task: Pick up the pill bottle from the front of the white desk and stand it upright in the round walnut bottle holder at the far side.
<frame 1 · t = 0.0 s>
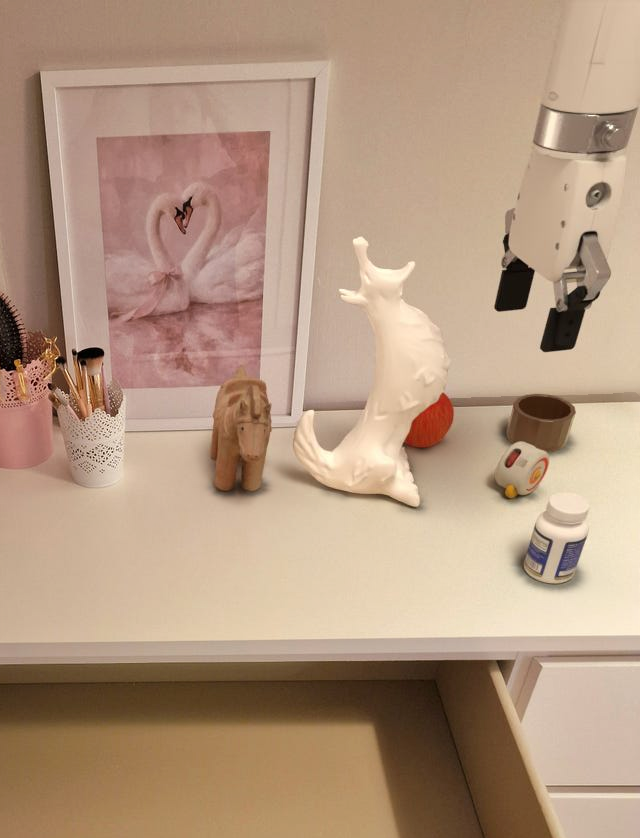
hand: (532, 328, 85), 25 cm above the table, tool pointing down, fingers open, 9 cm apart
holder: (535, 437, 117), on the table
figurine: (241, 482, 112), on the table
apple: (417, 442, 118), on the table
sculpture: (356, 486, 110), on the table
roller toy: (516, 489, 108), on the table
pill bottle: (547, 571, 96), on the table
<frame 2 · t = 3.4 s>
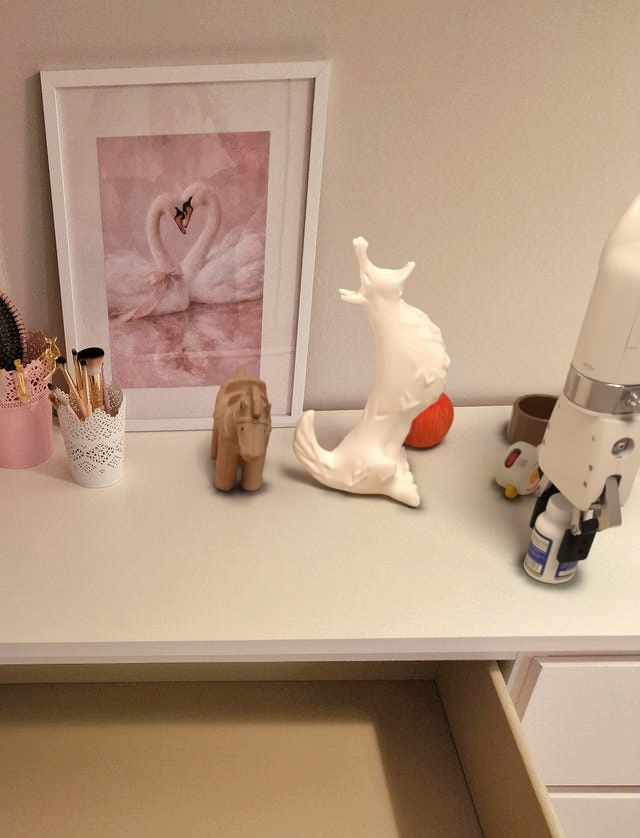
hand: (557, 541, 93), 4 cm above the table, tool pointing down, fingers closed on pill bottle, 5 cm apart
pill bottle: (547, 571, 96), on the table, touching gripper
everything else where it was.
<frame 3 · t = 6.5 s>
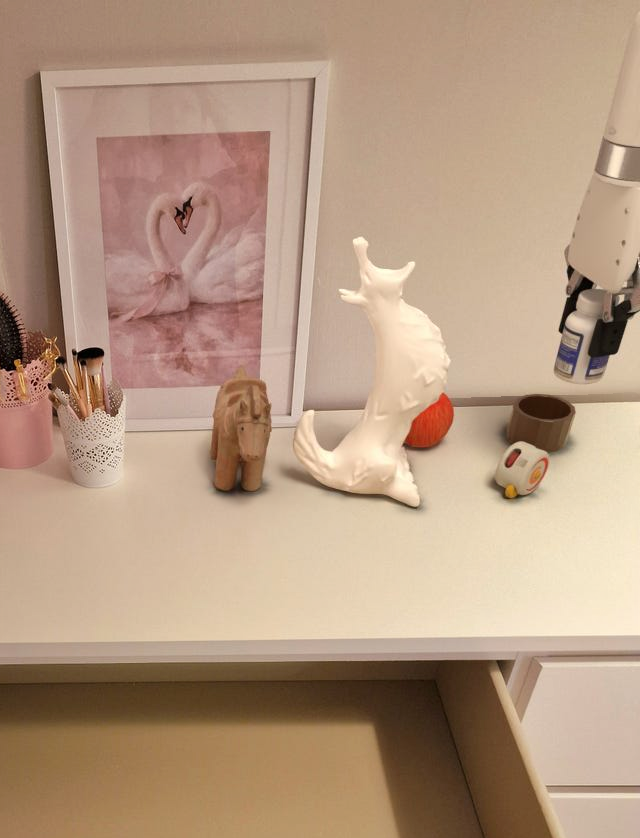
hand: (587, 341, 95), 19 cm above the table, tool pointing down, fingers closed on pill bottle, 5 cm apart
pill bottle: (576, 376, 98), point 15 cm above the table, touching gripper
everything else where it was.
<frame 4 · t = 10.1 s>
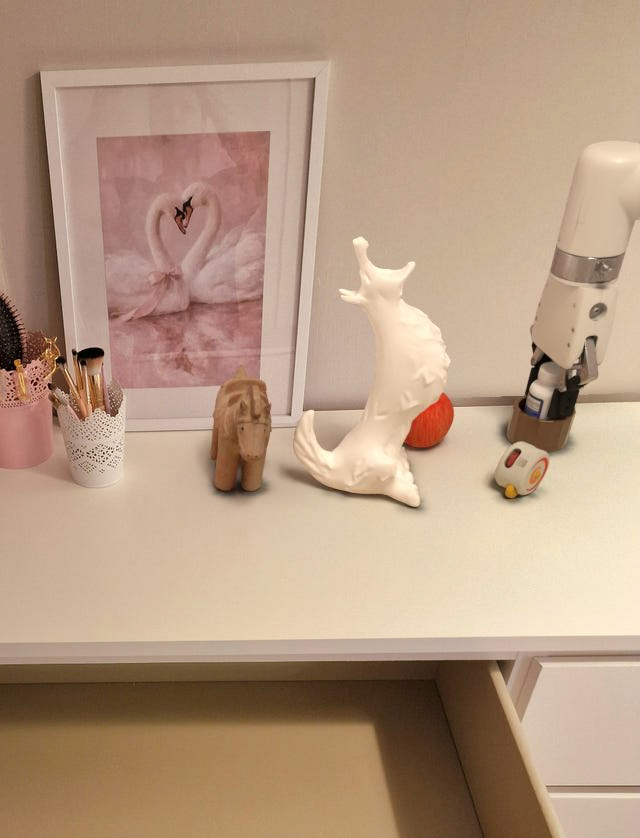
hand: (547, 404, 114), 5 cm above the table, tool pointing down, fingers closed on pill bottle, 5 cm apart
pill bottle: (539, 432, 116), point 1 cm above the table, touching gripper
everything else where it was.
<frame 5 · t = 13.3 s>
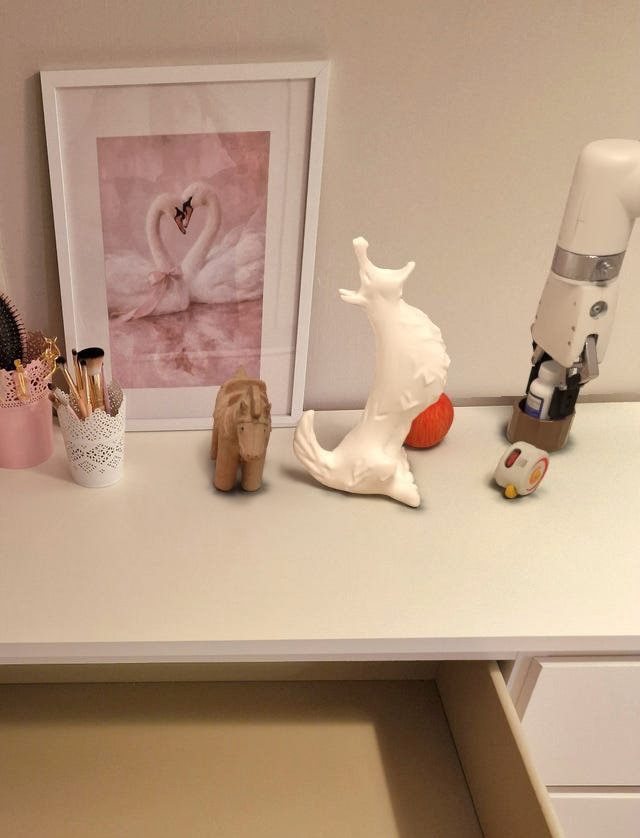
hand: (548, 403, 113), 5 cm above the table, tool pointing down, fingers closed on pill bottle, 5 cm apart
pill bottle: (540, 431, 116), point 1 cm above the table, touching gripper
everything else where it was.
when the fingers open (6 cm above the table, at t = 16.6 s): pill bottle drops 1 cm, resting on holder.
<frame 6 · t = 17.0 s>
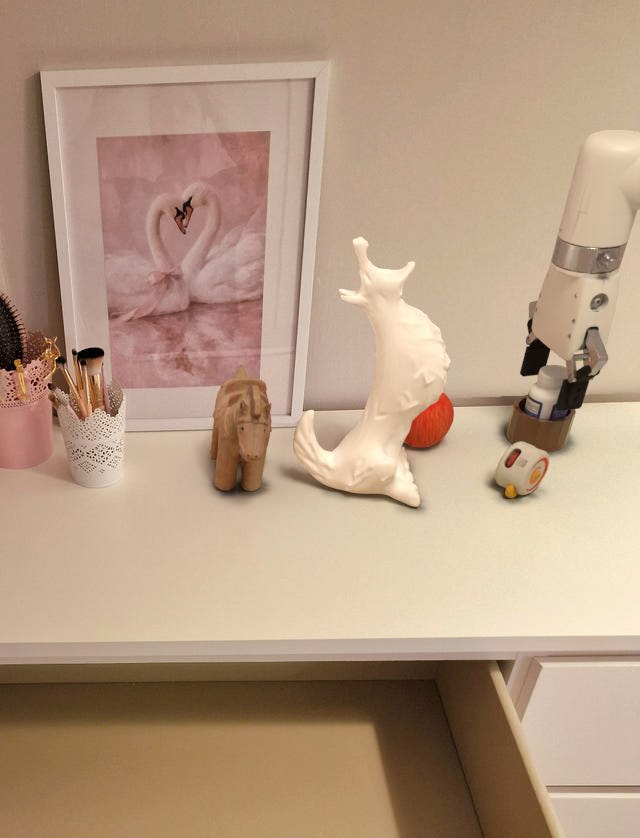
hand: (549, 391, 112), 7 cm above the table, tool pointing down, fingers open, 9 cm apart
pill bottle: (538, 435, 117), resting on holder
everything else where it was.
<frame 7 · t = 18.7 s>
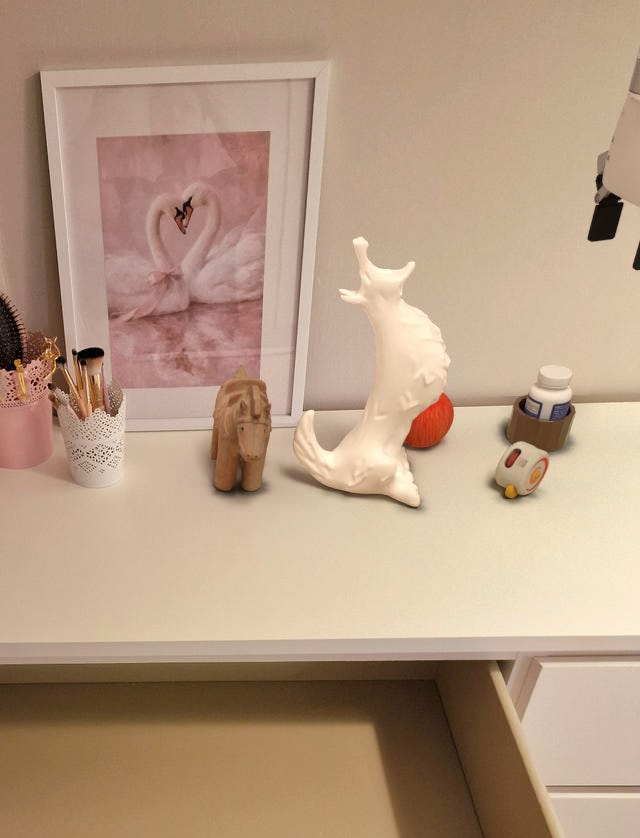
hand: (622, 253, 100), 24 cm above the table, tool pointing down, fingers open, 9 cm apart
nothing on the table moved.
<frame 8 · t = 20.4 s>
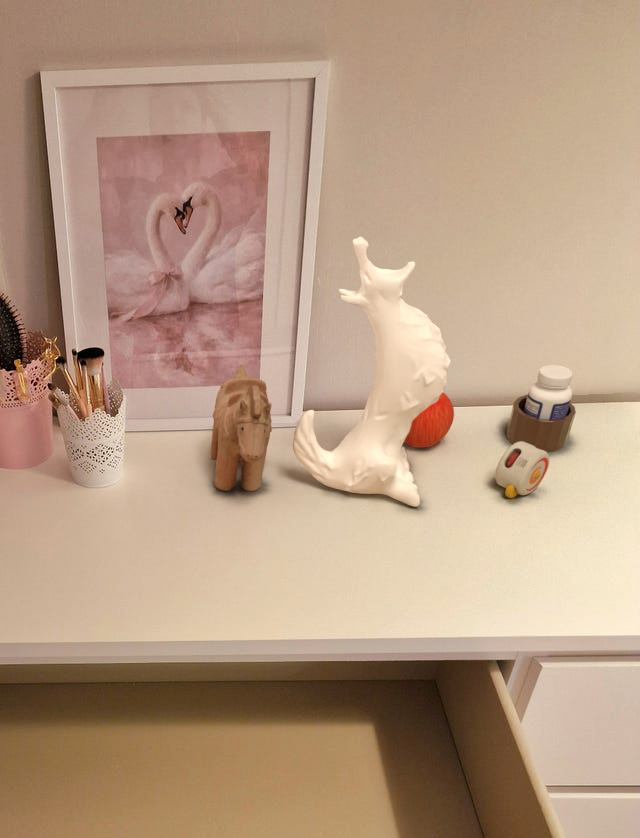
nothing on the table moved.
at the end: pill bottle 0.2 cm off-centre in the holder, point 0.4 cm above the holder's base; pill bottle tilted 0°; the gripper is holding nothing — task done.
